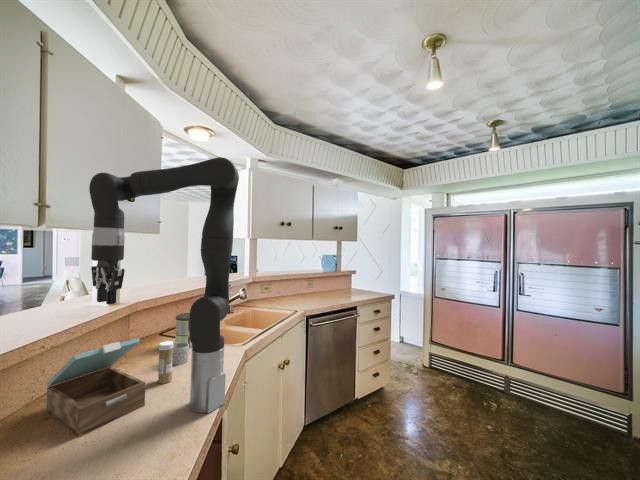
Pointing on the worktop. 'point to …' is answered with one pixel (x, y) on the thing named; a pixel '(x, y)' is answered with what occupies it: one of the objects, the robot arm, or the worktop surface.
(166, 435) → the worktop surface
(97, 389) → the storage box
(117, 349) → the lid
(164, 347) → the sprinkles bottle
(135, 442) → the worktop surface
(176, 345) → the mug
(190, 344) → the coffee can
